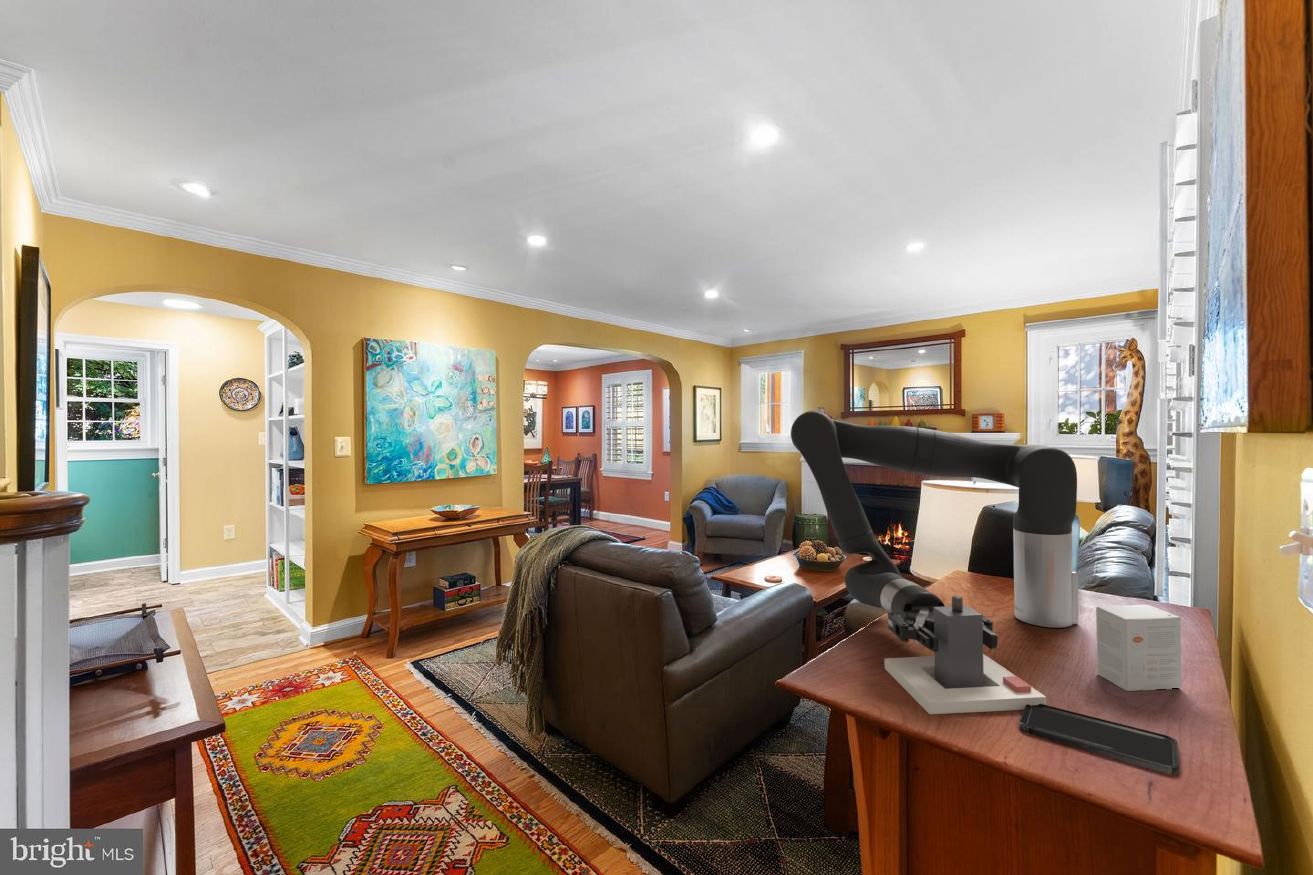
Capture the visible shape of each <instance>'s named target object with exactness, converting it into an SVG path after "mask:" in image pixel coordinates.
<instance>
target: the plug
mask: <svg viewBox="0 0 1313 875" xmlns="http://www.w3.org/2000/svg"><path fill="white" fill-rule="evenodd" d="M963 601H964V599H963V596H960V595H952V596H951V605H949V606H945V607H934V635H936V636H937V637H938V645H939V650H938V651H936V652H934V655H933V656H935V680H936V681H937V682H939V683H940V684H941V685H942V686H943V687H944V688H945V689H951V688H972V687H984V673H983V654H984V644H983V616H984V615H983V614H981V613H980V612H979V611H977V610H975V609H973V608H971V607H970V606H967V605H963V604H964V603H963Z"/></svg>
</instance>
